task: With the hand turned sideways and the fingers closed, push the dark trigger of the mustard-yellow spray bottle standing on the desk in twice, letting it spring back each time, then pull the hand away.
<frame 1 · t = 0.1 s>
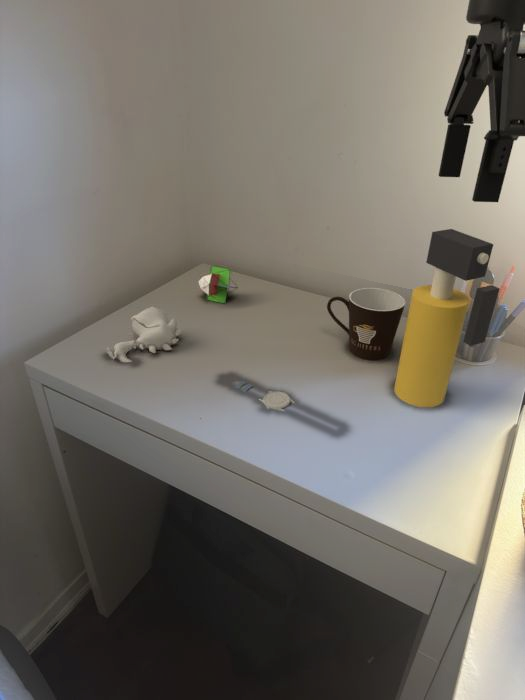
hand: (465, 188, 63), 28 cm above the table, tool pointing down, fingers open, 13 cm apart
geometric puzzle: (218, 300, 100), on the table
wristwatch: (277, 407, 69), on the table
spray bottle: (418, 397, 72), on the table
toy character: (144, 352, 81), on the table
trigger: (480, 315, 59), point 16 cm above the table, slide at 0.0 cm
coffee mug: (362, 351, 83), on the table
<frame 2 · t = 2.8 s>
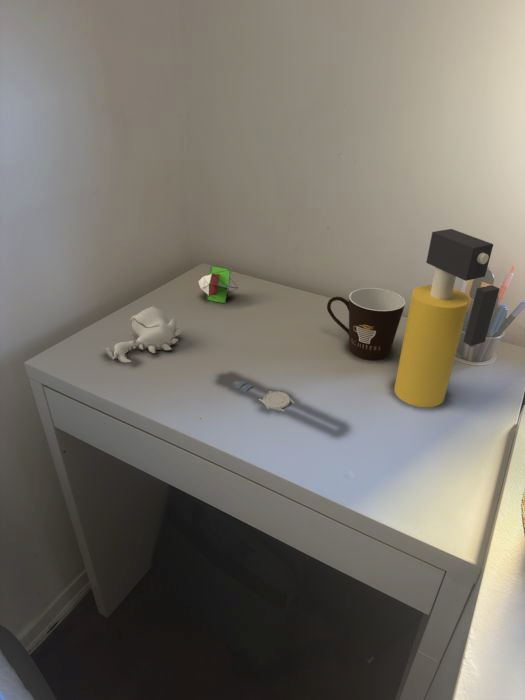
nothing on the table moved.
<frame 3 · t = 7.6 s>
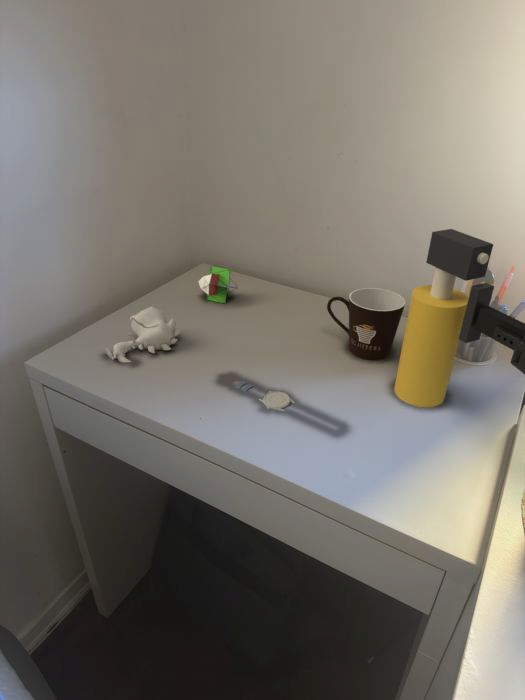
hand: (481, 317, 59), 16 cm above the table, tool horizontal, fingers closed
trigger: (475, 313, 60), point 16 cm above the table, slide at -0.7 cm, touching gripper
everything else where it was.
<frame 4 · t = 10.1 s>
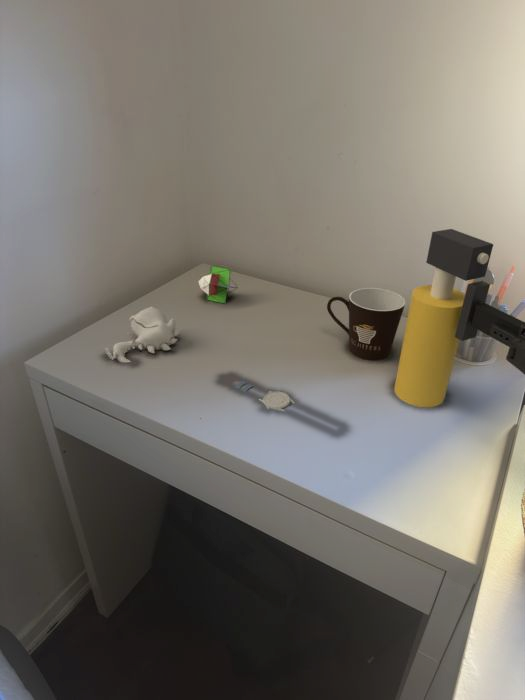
hand: (477, 314, 59), 16 cm above the table, tool horizontal, fingers closed
trigger: (472, 311, 60), point 16 cm above the table, slide at -1.3 cm, touching gripper
everything else where it was.
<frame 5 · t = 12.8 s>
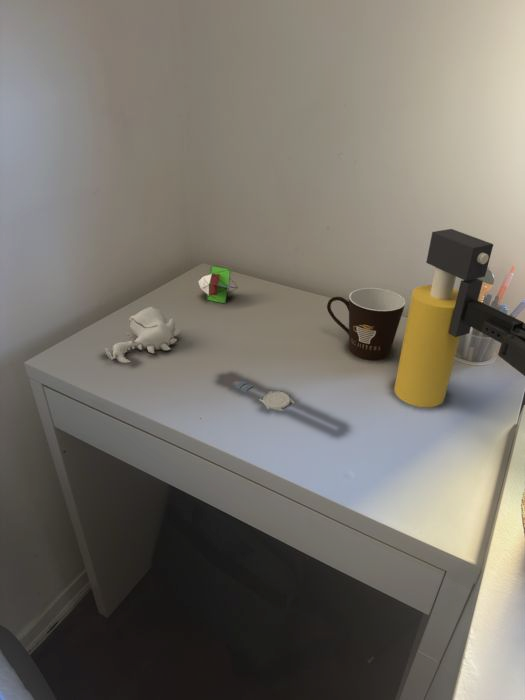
hand: (469, 311, 60), 16 cm above the table, tool horizontal, fingers closed
trigger: (465, 307, 61), point 16 cm above the table, slide at -2.4 cm, touching gripper, spray bottle
everything else where it was.
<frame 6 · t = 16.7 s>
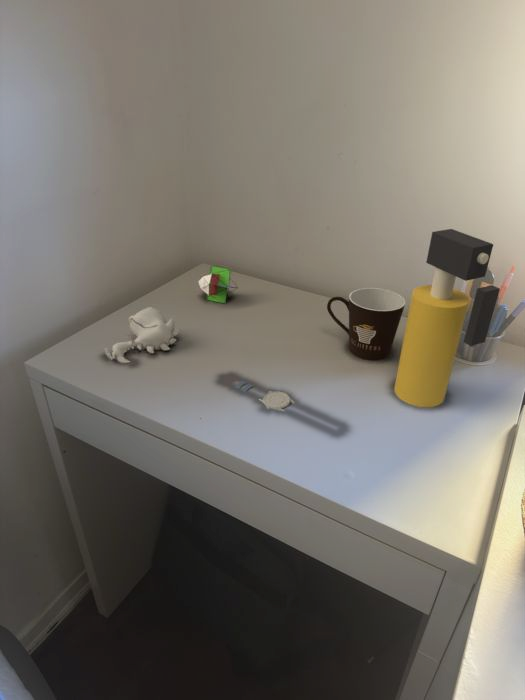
trigger: (481, 316, 59), point 16 cm above the table, slide at 0.1 cm
everything else where it was.
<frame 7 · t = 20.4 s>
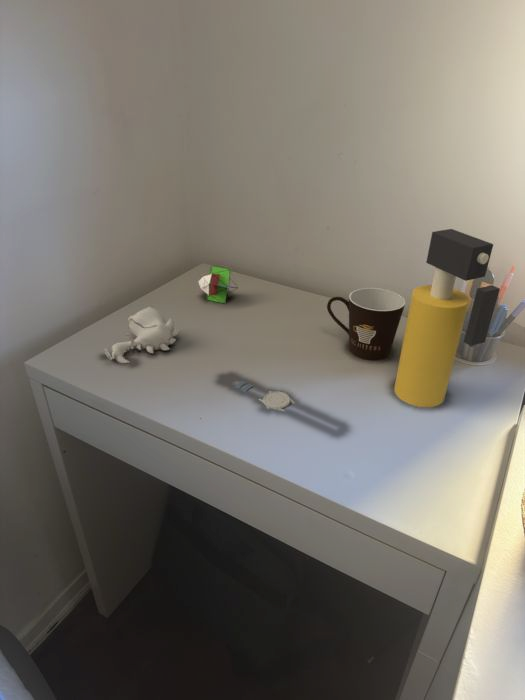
nothing on the table moved.
at the end: trigger pushed in 2.4 cm at the most during the clip, back to where it started at the end; trigger slide at 0.1 cm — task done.
